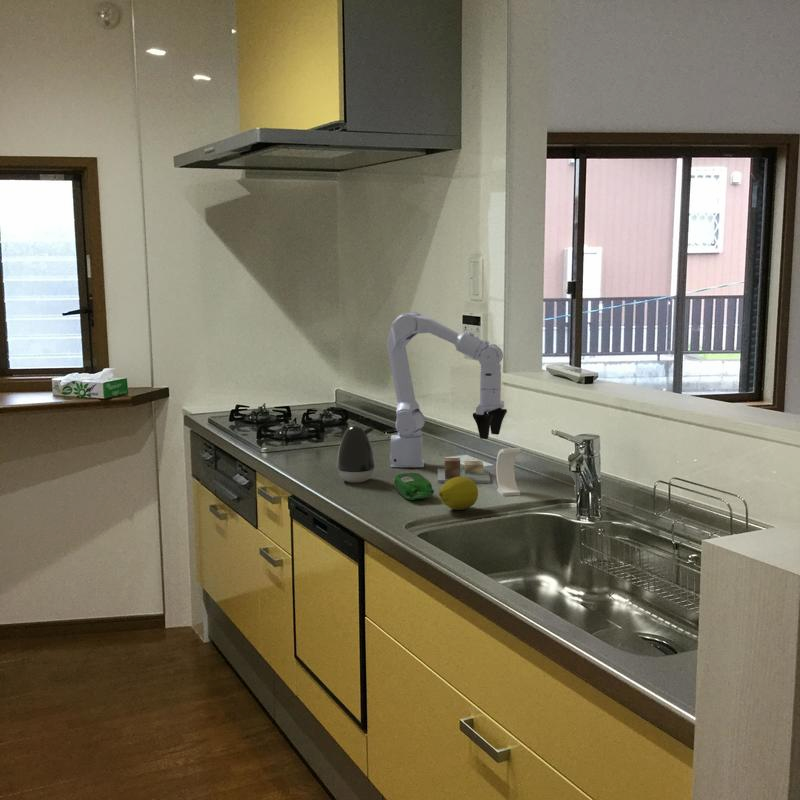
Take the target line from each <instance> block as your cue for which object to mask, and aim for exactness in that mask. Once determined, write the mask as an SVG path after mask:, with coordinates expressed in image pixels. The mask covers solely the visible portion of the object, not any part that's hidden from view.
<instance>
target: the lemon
mask: <svg viewBox="0 0 800 800" xmlns="http://www.w3.org/2000/svg"><path fill="white" fill-rule="evenodd" d="M438 496H439V498H440V500H441V501H442V503H443V504H444V505H445V506H446V507H448V508H449V509H452V510H455V511H463V510H466V509H468V508H471V507H472V506H474V505H475V503H476V502H477V500H478V498H479V490H478V486H477V483H474V482H473V481H472V480H471V479H470V478H467V477H455V478H452V479H450V480H448V481H447V482H445V483H443V485H442V486H441V488H440V489H439V491H438Z"/></svg>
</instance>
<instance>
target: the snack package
mask: <svg viewBox="0 0 800 800" xmlns="http://www.w3.org/2000/svg"><path fill="white" fill-rule="evenodd" d="M393 481H394V482H393V483H394V488H395V490H396V491H397V492H398V493H399V494H400V495H402V497H403V498H405V499H407V500H409V501H413V500H422V499H427V498H428V497H429V496H430V495H431V494H432V495H433V494H434V493H435V490H434V489H433V486H432V483H431V482H430V481H429V479H427V478H426V477H424V476H423V475H422V474H420V473H419V472H406V473H404V472H403V473H399V474H397V475H395V477H394V480H393Z"/></svg>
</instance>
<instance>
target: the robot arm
mask: <svg viewBox="0 0 800 800" xmlns="http://www.w3.org/2000/svg"><path fill="white" fill-rule="evenodd" d="M428 333H429V334H431V335H434V336H436V337H437V338H440V339H442V340H444V341H446V342H449V343H451V344H453V345H454V347H455V349H456V351H457V352H459V353H461V354H462V355H465V356H467V357H469V358H471V359H473V360H475V361H478V362H479V364H480V375H479V376H480V377H479V379H480V382H479V383H480V384H479V385H480V386H479V404H478V406H476V407H475V412H473V413H472V417H473V420H474V421H475V423H476V424H475V425H476V426H477V430H478V435H479V439H483V440H488V439H489V435H497V436H498V435H499V434H500V432H501V428H502V424H503V421H504V418H505V417H506V415H507V413H508V410H507V408H505V403H504V402H505V401H504V400H501V393H502V392H501V390H502V387H501V385H502V372H501V371H502V370H501V369H502V366H501V365H502V364H501V362H502V360H503V358H504V353H503V352H504V351H503V350H502V349H501V347H499V346H498V345H497V344H490V341H488V340H485V341H484V340H483V339H481V338H479V337H476V336H475V333H473V332H469V333H468V332H463V333H459V332H456V331H455V330H453V329H451V328H450V327H448V326H446V325H444V324H442V323H441V322H439V321H437V320H435V319H433V318H431V317H430V316H428V315H424V314H421V313H419V312H417V311H411V312H408V313H401V314H399V315H397V316H396V318H395V319H394V320H393V321H392V323H391V328H390V331H389V335H388V338H387V340H386V348H387V354H388V359H389V363H390V365H389V366H390V370H391V373H392V380H393V385H394V390H395V391H394V392H395V395H396V400H397V405H396V406H397V407H396V410H395V415H396V419H395V424H394V425H395V429H396V431H397V434H392V435H391V436H390V453H389V454H390V455H389V461H390V467H391V468H424V467H425V460H424V459H423V458H424V457H423V456H424V454H423V453H424V452H423V449H424V448H423V446H424V444H423V443H424V442H423V440H424V433H423V431H422V429H423V427H424V426H425V423H426V418H425V415H424V413H423V412H422V411H421V408H420V405H419V403H418V402H417V400H416V395H415V391H414V385H413V381H412V376H411V369H410V364H409V359H408V353H407V348H406V347H407V346H408V344H409V343H410V342H411V340H412V339H413V338H414V337H416V336H417V335H418V334H428ZM490 433H491V434H490Z"/></svg>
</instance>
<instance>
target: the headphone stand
mask: <svg viewBox="0 0 800 800" xmlns="http://www.w3.org/2000/svg"><path fill="white" fill-rule="evenodd" d="M521 451H522V449H521V447H520V448H519V447H518V448H500V449H499V451H498V453H497V457H496V464H495V465H496V466H495V471H496V472H495V474H496V483H497V488H496V492H497V493H499V495H501V496H503V497H509V496H510V497H511V496H521V491H520V490H519V487H518V486H517V485H518V484H517V482H516V478H515V477H516V476H515V462H516V461H515V460H516V456H517V454H518V453H519V452H520V453H521Z"/></svg>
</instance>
